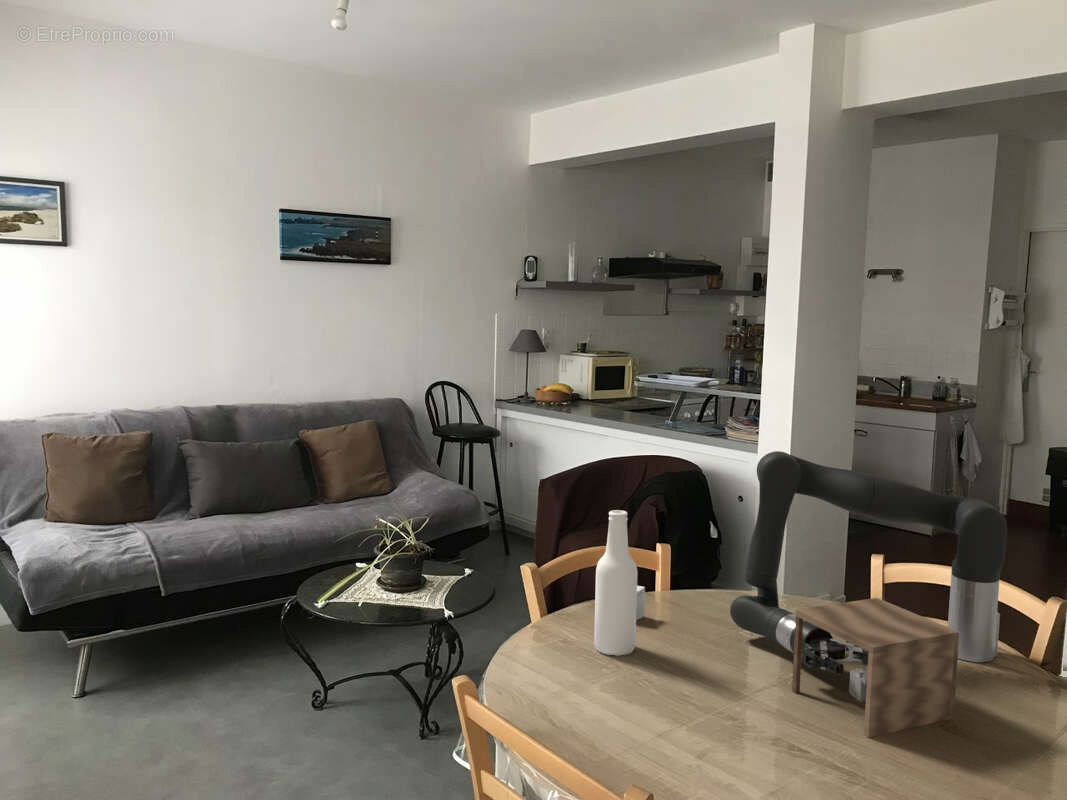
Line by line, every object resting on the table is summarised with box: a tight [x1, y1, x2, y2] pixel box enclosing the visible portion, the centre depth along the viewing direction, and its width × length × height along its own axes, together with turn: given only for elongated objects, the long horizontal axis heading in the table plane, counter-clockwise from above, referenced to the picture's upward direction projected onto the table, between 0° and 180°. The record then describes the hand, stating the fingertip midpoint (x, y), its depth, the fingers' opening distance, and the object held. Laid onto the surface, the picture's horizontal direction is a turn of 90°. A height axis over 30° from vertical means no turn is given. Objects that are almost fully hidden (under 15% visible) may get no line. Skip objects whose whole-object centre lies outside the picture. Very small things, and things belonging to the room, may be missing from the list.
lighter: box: [848, 665, 868, 703], centre depth 170 cm, size 7×2×8 cm, turn 10°
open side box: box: [791, 597, 959, 738], centre depth 168 cm, size 20×20×16 cm
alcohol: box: [593, 509, 638, 657], centre depth 192 cm, size 9×9×30 cm
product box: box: [636, 585, 646, 621], centre depth 212 cm, size 6×6×7 cm
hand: (860, 667), depth 171 cm, fingers open, 8 cm apart
